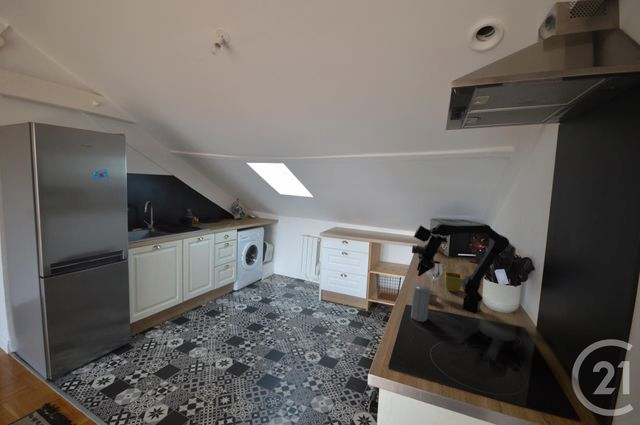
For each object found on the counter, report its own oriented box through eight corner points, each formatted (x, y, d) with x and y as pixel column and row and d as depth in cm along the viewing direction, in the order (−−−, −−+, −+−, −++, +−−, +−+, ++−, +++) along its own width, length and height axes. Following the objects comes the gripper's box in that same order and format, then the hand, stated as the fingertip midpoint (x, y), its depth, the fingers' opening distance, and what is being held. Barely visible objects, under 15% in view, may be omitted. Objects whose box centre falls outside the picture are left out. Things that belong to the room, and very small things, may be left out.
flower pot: (461, 294, 155) (463, 278, 154) (444, 291, 158) (446, 276, 157) (459, 288, 163) (460, 274, 162) (442, 286, 166) (444, 271, 165)
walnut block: (436, 301, 144) (437, 292, 143) (434, 304, 140) (435, 295, 139) (426, 298, 146) (427, 289, 146) (424, 302, 142) (425, 292, 142)
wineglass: (433, 298, 147) (437, 265, 145) (420, 292, 154) (424, 260, 152) (443, 295, 152) (446, 263, 150) (429, 290, 159) (433, 259, 156)
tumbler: (429, 319, 124) (432, 288, 122) (421, 322, 120) (424, 291, 118) (416, 313, 129) (419, 283, 127) (408, 316, 125) (411, 286, 123)
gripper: (416, 235, 150) (403, 260, 153) (418, 242, 132) (403, 270, 135) (436, 245, 147) (422, 270, 150) (441, 253, 129) (425, 282, 133)
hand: (418, 273), depth 142 cm, fingers open, 9 cm apart
